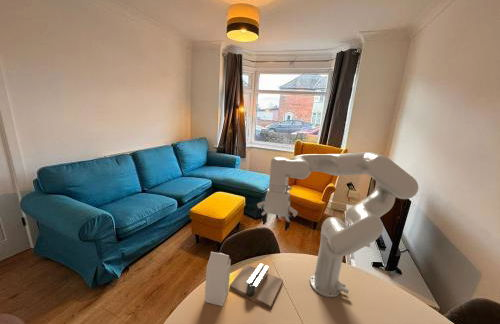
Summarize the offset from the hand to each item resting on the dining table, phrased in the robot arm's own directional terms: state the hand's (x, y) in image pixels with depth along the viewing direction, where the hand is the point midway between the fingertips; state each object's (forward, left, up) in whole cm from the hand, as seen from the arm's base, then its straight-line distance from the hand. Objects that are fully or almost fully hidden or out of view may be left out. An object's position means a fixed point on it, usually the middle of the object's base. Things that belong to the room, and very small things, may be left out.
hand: (275, 226), depth 88 cm
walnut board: (+3, +7, -25) cm, 26 cm away
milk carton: (+14, +20, -26) cm, 35 cm away
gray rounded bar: (+3, +8, -24) cm, 25 cm away
